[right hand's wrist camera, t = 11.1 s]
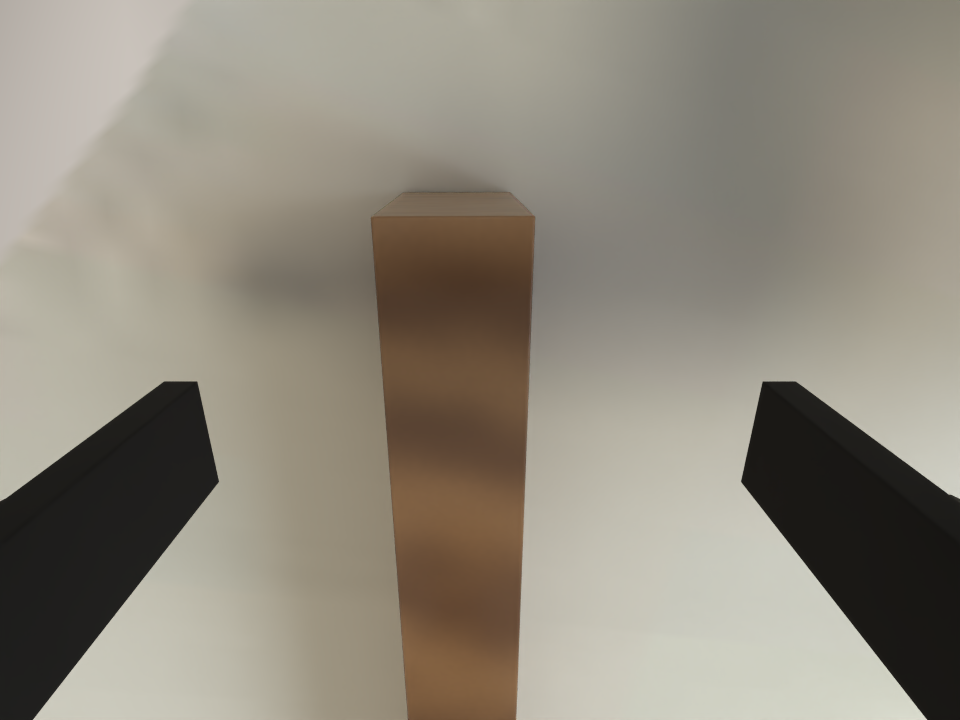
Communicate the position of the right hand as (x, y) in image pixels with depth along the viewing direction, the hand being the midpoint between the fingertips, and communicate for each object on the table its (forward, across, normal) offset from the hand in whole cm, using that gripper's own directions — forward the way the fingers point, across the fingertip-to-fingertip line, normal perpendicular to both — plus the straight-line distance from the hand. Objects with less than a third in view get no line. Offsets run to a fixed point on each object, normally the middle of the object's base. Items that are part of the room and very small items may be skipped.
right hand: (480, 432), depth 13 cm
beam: (+12, -1, -21) cm, 25 cm away
